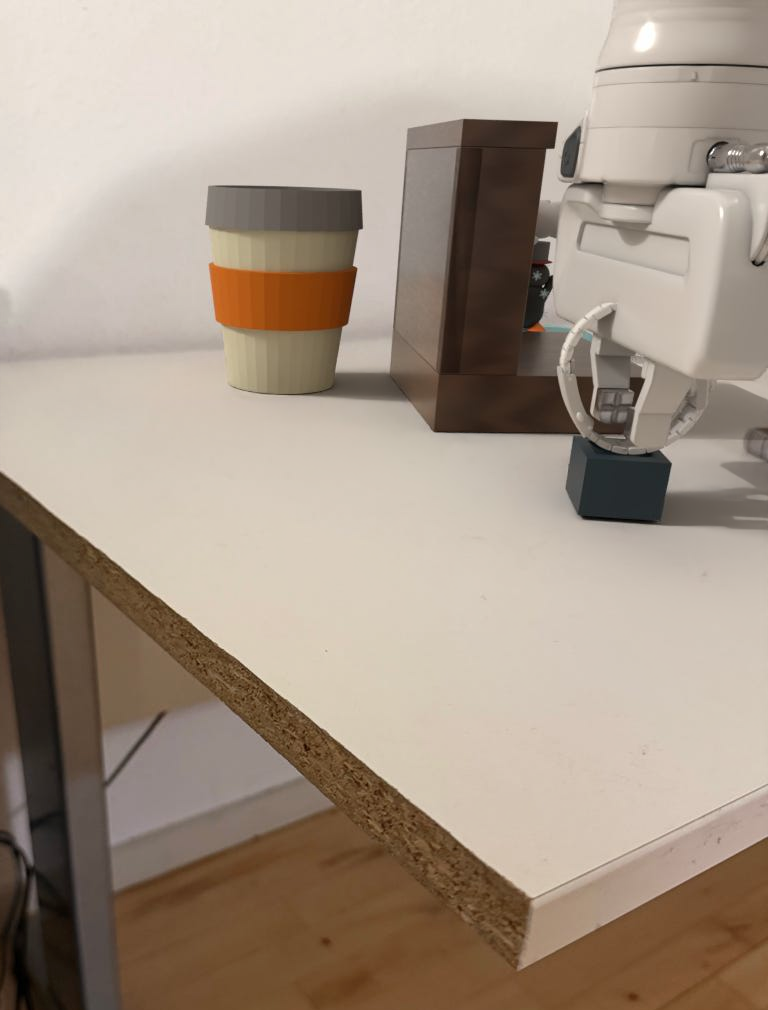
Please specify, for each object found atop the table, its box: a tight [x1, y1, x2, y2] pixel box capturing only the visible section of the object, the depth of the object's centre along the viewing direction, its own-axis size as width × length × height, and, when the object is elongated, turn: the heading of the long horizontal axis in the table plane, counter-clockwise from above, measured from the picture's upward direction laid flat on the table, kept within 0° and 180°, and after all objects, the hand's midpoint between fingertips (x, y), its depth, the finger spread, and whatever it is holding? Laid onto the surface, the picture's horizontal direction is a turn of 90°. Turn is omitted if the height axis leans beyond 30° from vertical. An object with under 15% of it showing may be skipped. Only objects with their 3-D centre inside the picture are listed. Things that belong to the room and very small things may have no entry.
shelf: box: [389, 118, 645, 435], centre depth 72 cm, size 16×20×20 cm
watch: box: [557, 303, 717, 522], centre depth 51 cm, size 6×8×11 cm
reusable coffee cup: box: [204, 184, 364, 395], centre depth 78 cm, size 12×13×15 cm
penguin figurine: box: [523, 199, 593, 342], centre depth 94 cm, size 20×11×15 cm, turn 78°
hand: (624, 432), depth 52 cm, fingers closed on watch, 4 cm apart
